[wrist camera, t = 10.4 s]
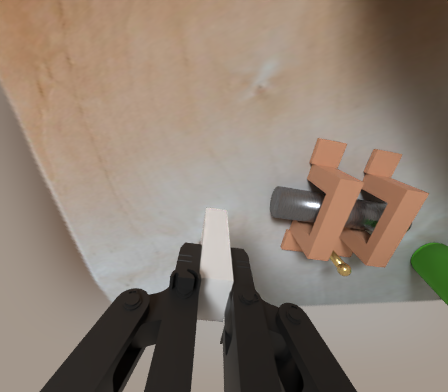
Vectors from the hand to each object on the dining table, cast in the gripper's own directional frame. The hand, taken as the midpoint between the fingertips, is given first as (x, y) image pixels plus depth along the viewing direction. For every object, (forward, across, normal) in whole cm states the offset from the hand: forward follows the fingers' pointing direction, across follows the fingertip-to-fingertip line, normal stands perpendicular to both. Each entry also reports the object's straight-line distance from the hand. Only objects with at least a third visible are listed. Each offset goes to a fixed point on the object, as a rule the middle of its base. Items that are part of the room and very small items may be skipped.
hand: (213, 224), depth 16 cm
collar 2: (+10, +19, -1) cm, 22 cm away
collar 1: (+10, +12, -1) cm, 16 cm away
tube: (+10, +15, -1) cm, 19 cm away
